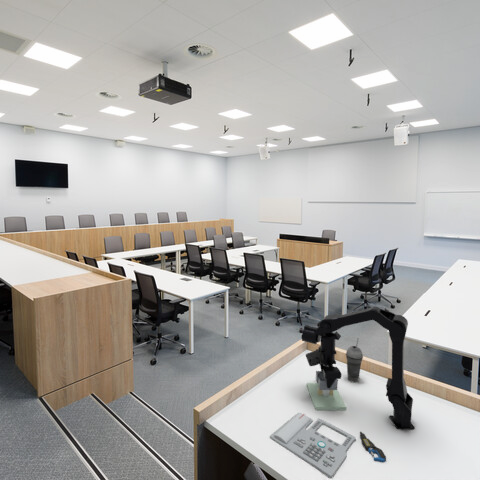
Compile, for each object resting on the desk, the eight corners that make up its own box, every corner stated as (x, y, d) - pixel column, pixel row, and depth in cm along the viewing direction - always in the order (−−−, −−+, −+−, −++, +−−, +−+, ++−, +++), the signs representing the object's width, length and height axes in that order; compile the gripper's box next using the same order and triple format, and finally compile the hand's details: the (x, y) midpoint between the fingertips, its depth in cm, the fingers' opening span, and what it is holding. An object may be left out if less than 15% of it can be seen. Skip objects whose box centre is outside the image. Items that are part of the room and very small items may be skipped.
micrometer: (387, 458, 100) (372, 458, 100) (387, 463, 100) (371, 463, 100) (371, 429, 111) (357, 430, 111) (370, 434, 112) (356, 434, 112)
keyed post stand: (346, 410, 124) (346, 397, 123) (315, 409, 124) (315, 397, 123) (334, 385, 140) (334, 374, 139) (306, 385, 140) (307, 374, 139)
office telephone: (269, 432, 109) (300, 405, 124) (269, 439, 110) (300, 411, 124) (331, 472, 94) (359, 435, 108) (331, 480, 94) (359, 442, 108)
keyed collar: (337, 390, 128) (337, 380, 127) (319, 389, 128) (320, 380, 127) (332, 379, 135) (332, 371, 134) (315, 379, 134) (315, 371, 134)
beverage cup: (348, 372, 150) (350, 332, 147) (363, 378, 145) (366, 337, 142) (342, 379, 144) (344, 337, 141) (358, 385, 140) (360, 342, 137)
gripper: (303, 336, 138) (302, 370, 140) (313, 358, 119) (311, 396, 122) (328, 336, 138) (327, 370, 140) (342, 358, 119) (340, 396, 122)
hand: (326, 382), depth 131 cm, fingers closed on keyed collar, 7 cm apart
